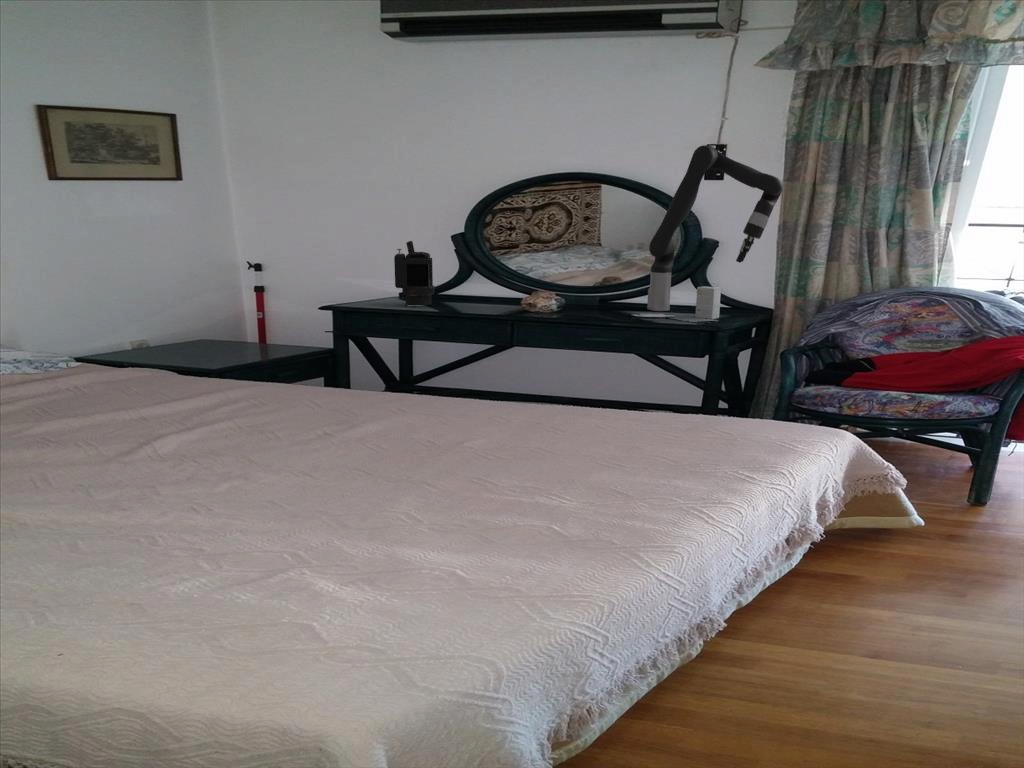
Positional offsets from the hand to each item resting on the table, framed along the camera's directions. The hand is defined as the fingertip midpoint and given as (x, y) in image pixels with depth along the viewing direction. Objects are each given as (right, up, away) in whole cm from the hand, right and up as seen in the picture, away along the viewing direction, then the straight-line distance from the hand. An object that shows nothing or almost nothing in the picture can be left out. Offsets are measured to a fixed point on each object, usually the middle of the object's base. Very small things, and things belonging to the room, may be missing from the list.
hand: (739, 261), depth 313 cm
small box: (-12, -23, +5) cm, 27 cm away
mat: (-21, -25, -2) cm, 32 cm away
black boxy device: (-141, -14, +40) cm, 147 cm away
